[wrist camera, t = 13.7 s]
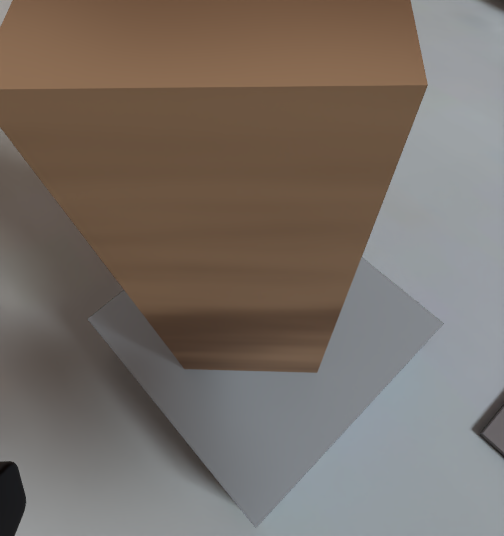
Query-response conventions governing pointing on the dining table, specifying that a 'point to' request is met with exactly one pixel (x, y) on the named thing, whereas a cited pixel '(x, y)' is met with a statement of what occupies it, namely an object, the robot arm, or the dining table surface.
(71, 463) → the dining table surface
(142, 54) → the walnut column
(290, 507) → the dining table surface
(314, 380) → the slate block
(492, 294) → the dining table surface
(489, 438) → the card
